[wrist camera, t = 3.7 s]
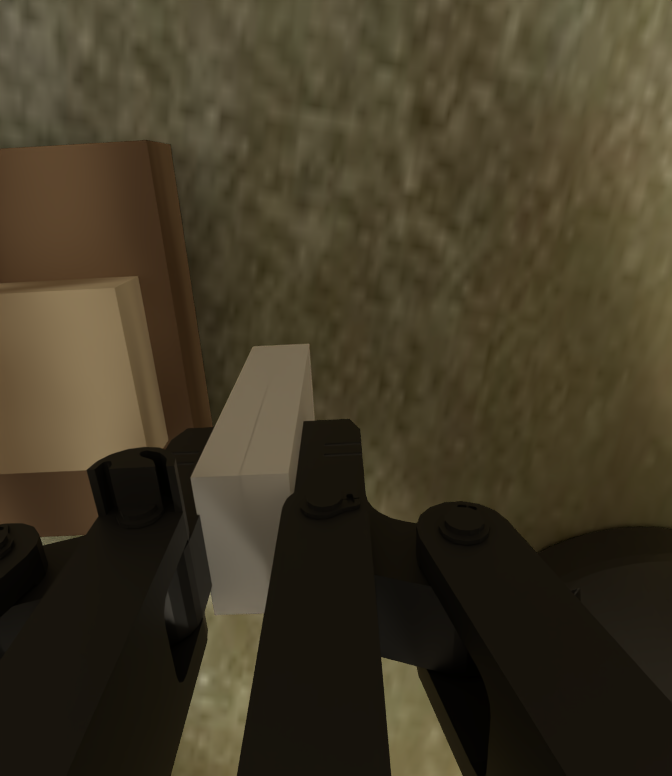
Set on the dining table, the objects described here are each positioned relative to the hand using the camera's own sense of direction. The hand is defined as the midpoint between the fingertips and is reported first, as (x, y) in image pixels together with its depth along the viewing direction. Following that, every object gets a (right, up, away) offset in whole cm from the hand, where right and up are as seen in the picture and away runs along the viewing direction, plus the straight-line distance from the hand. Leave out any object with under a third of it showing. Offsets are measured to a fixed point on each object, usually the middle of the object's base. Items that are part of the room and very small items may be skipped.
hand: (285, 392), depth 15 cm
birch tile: (-9, +1, +4) cm, 10 cm away
